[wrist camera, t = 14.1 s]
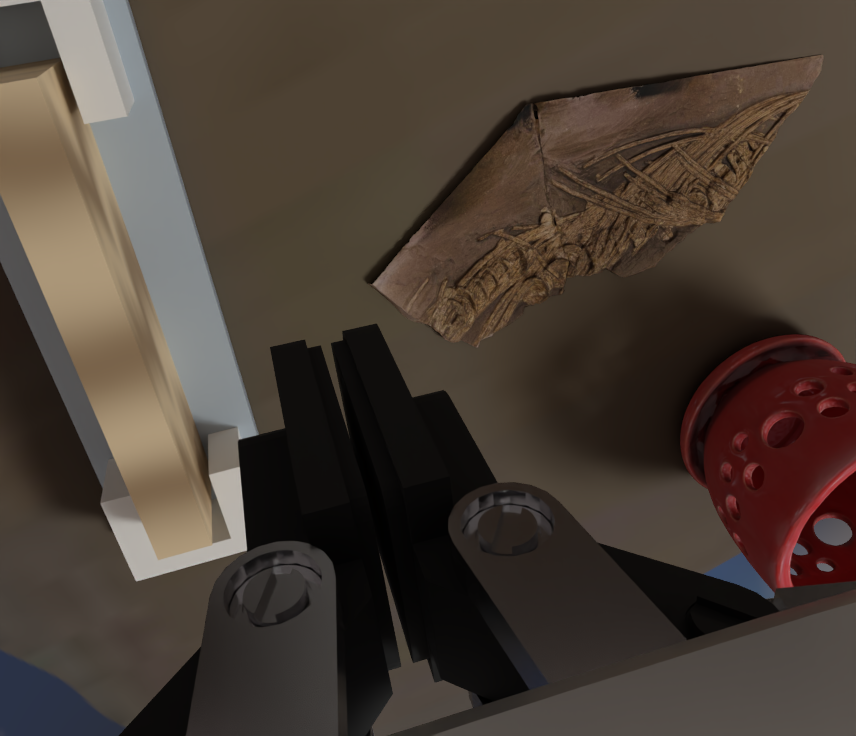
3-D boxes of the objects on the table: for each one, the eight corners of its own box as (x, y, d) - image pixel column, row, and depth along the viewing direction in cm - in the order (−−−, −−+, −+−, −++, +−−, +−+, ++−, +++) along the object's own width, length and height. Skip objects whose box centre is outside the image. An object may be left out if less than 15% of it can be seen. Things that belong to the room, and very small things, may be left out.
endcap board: (-119, -26, 27) (-172, -24, 23) (110, -59, 28) (96, -62, 24) (130, 533, 40) (122, 593, 37) (276, 494, 42) (284, 547, 38)
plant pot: (630, 391, 45) (755, 517, 35) (819, 279, 45) (1001, 373, 35) (686, 524, 52) (805, 662, 42) (850, 427, 52) (1010, 542, 42)
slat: (0, 67, 28) (-45, 91, 23) (66, 56, 29) (36, 77, 23) (163, 480, 38) (158, 560, 33) (210, 468, 39) (212, 545, 34)
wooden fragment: (408, 373, 41) (413, 383, 40) (326, 190, 35) (329, 196, 34) (824, 180, 42) (837, 185, 41) (811, -27, 36) (826, -27, 35)
